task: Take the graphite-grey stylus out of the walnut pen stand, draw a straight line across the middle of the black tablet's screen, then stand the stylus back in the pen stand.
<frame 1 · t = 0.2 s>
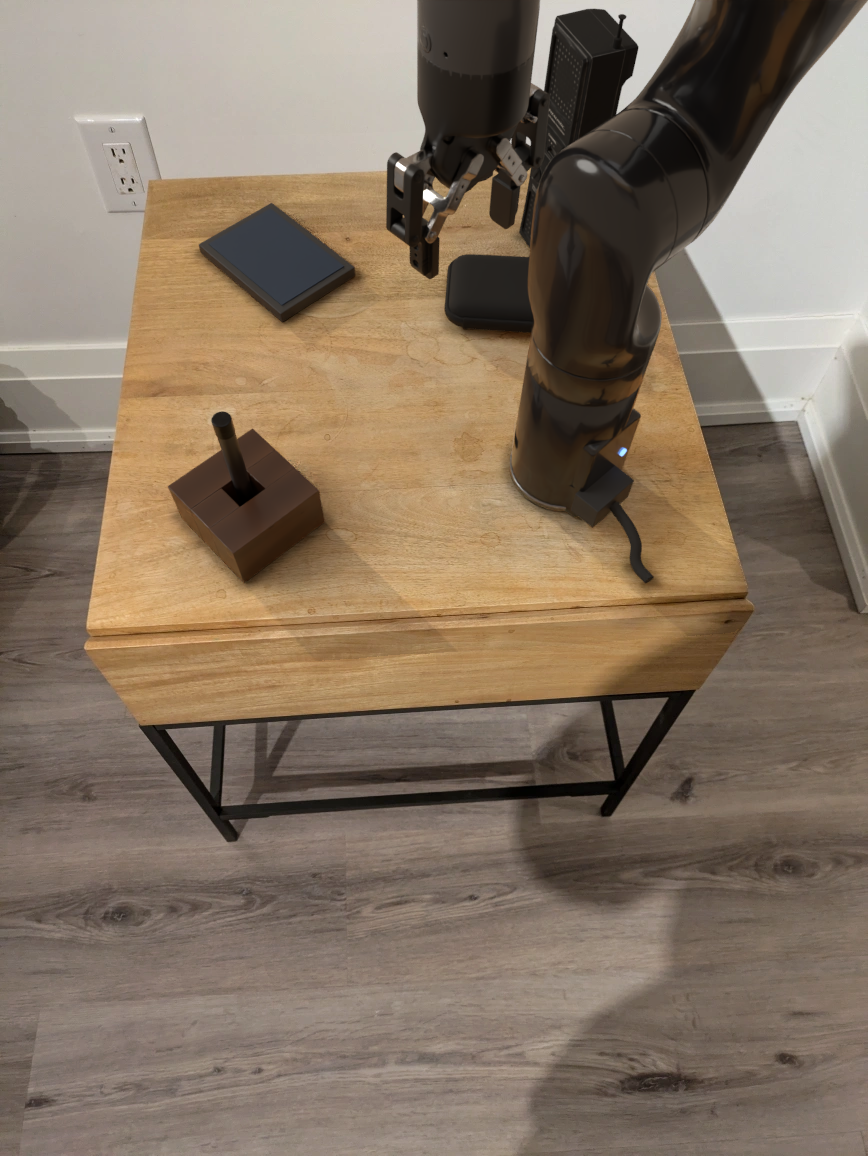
hand: (464, 246, 67), 17 cm above the table, tool pointing down, fingers open, 8 cm apart
carrying case: (515, 310, 88), on the table
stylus: (238, 474, 69), in the pen stand
pen stand: (253, 520, 75), on the table
tablet: (277, 264, 91), on the table
portable radio: (551, 246, 93), on the table
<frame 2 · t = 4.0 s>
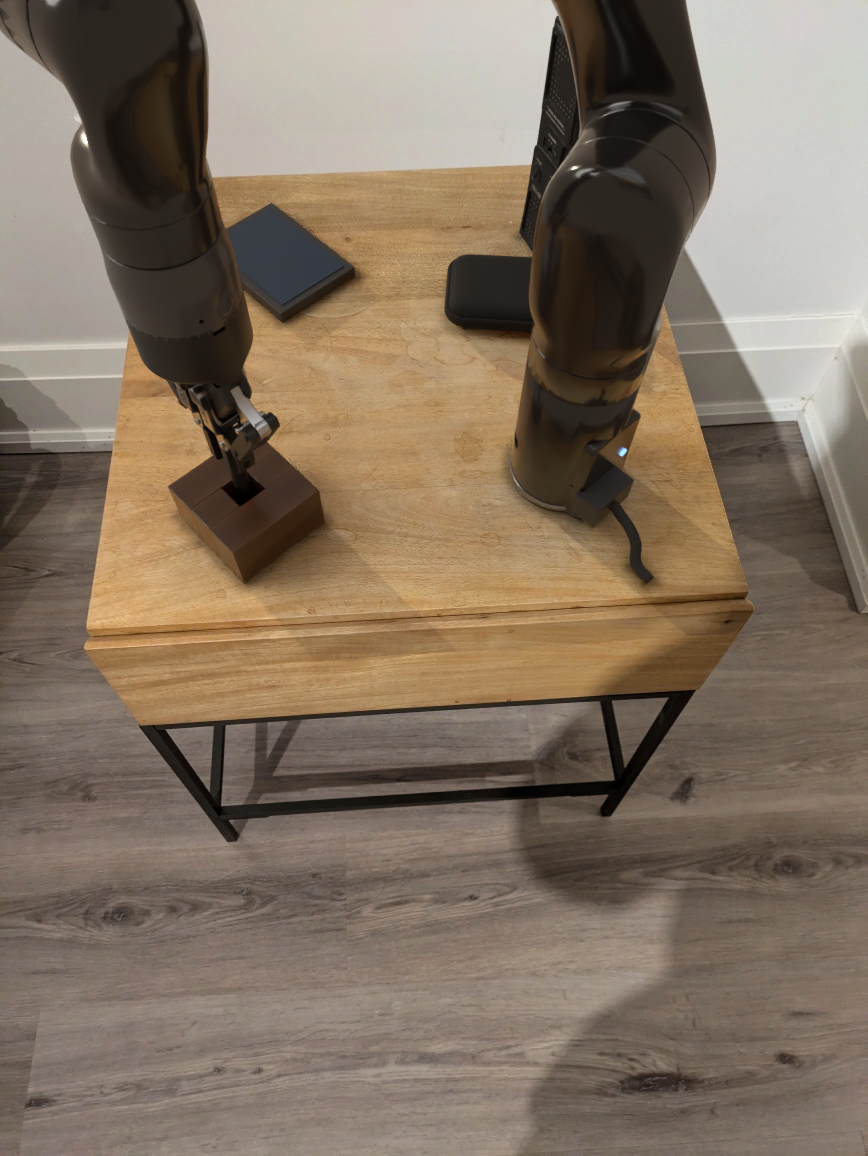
hand: (234, 459, 67), 9 cm above the table, tool pointing down, fingers closed on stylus, 1 cm apart
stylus: (238, 474, 69), in the pen stand, touching gripper
everything else where it was.
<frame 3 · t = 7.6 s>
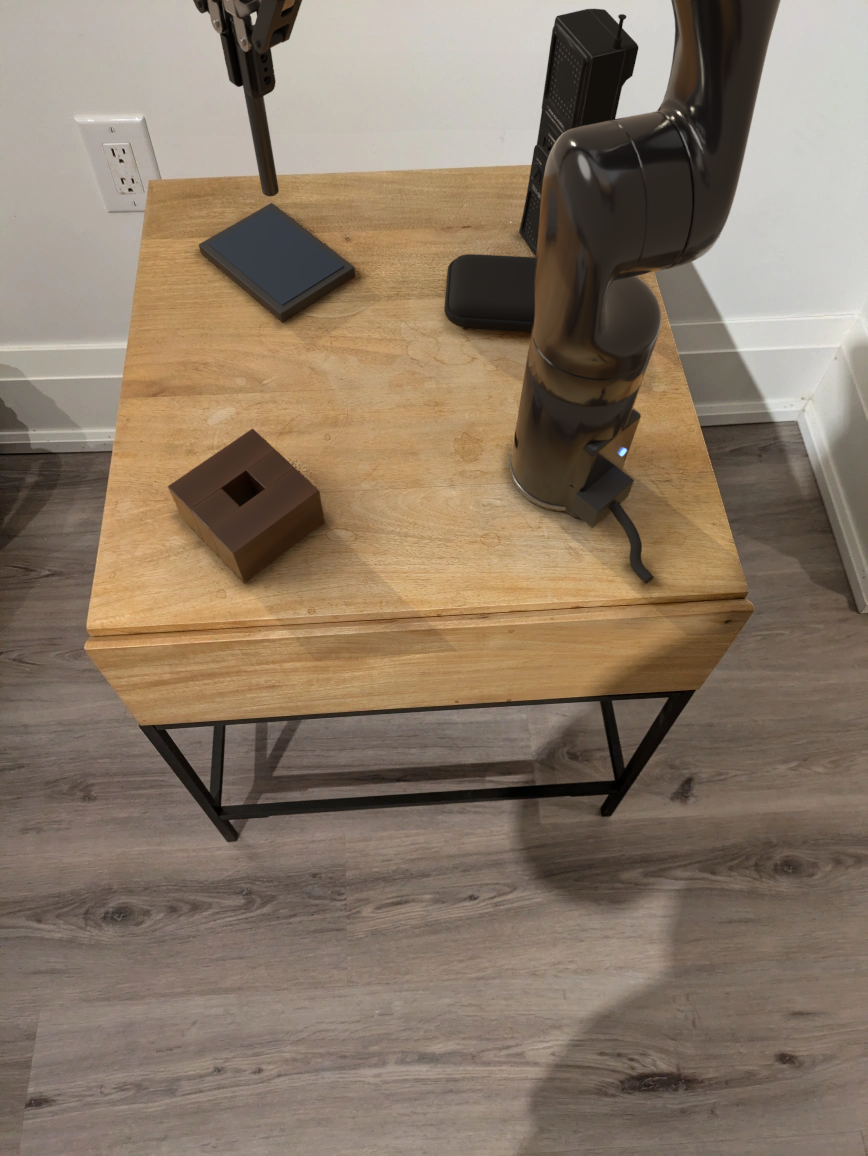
hand: (253, 86, 64), 25 cm above the table, tool pointing down, fingers closed on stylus, 1 cm apart
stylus: (257, 112, 66), point 23 cm above the table, touching gripper
everything else where it was.
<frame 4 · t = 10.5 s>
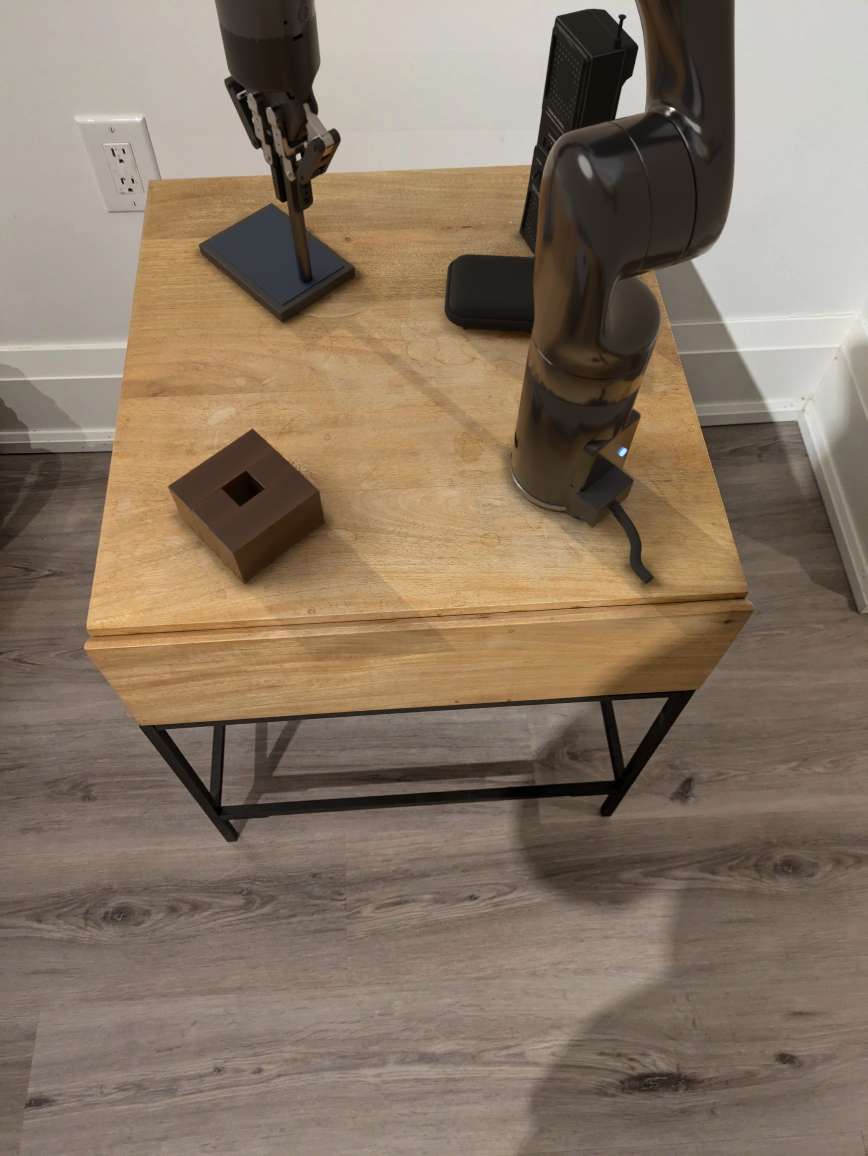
hand: (294, 202, 80), 10 cm above the table, tool pointing down, fingers closed on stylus, 1 cm apart
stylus: (297, 220, 82), point 8 cm above the table, touching gripper
everything else where it was.
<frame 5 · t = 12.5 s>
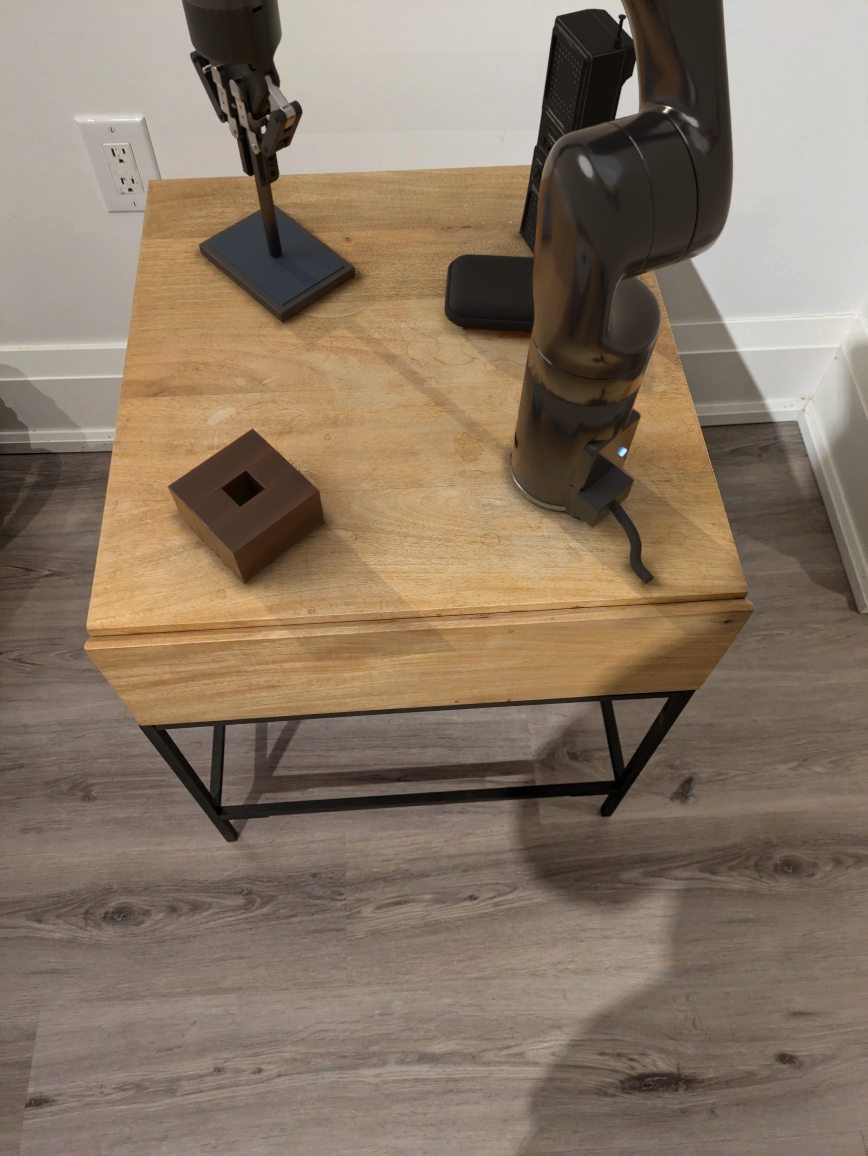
hand: (261, 176, 82), 11 cm above the table, tool pointing down, fingers closed on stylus, 1 cm apart
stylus: (265, 194, 83), point 8 cm above the table, touching gripper
everything else where it was.
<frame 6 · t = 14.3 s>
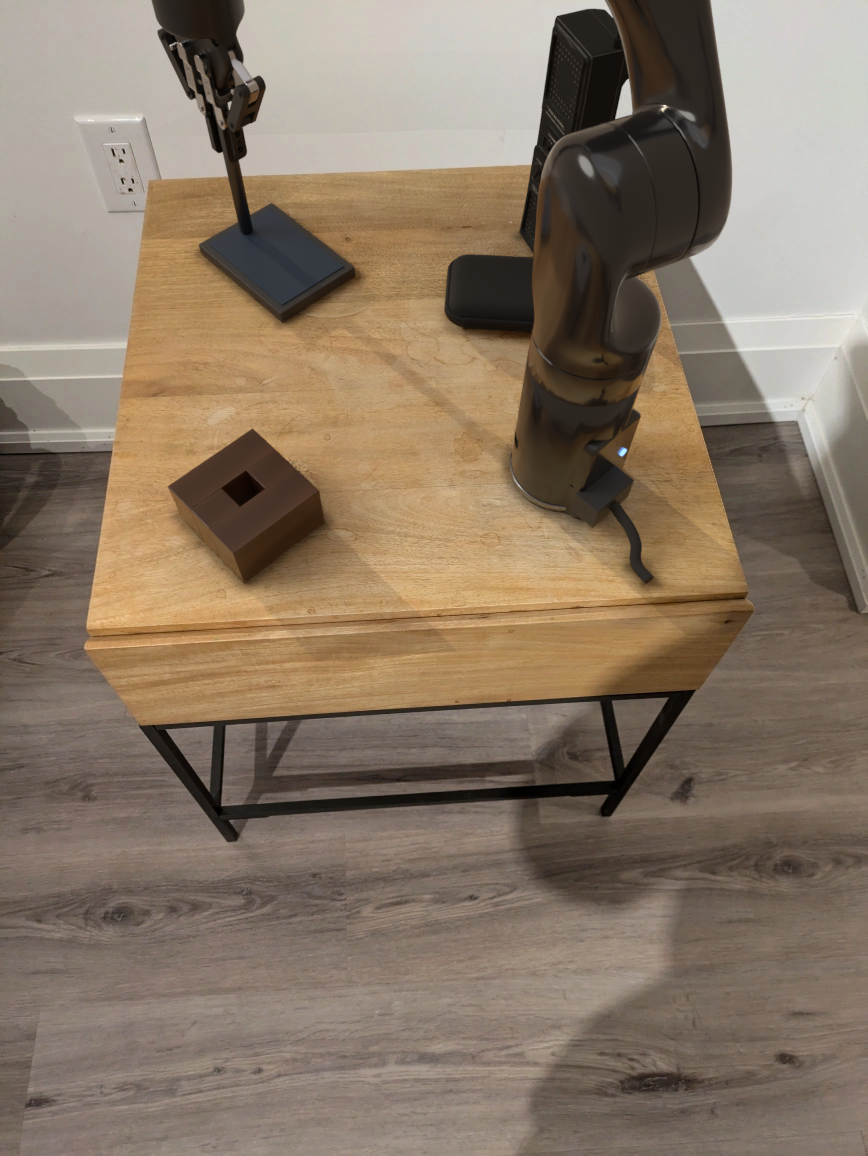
hand: (230, 152, 83), 10 cm above the table, tool pointing down, fingers closed on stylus, 1 cm apart
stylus: (234, 171, 85), point 8 cm above the table, touching gripper
everything else where it was.
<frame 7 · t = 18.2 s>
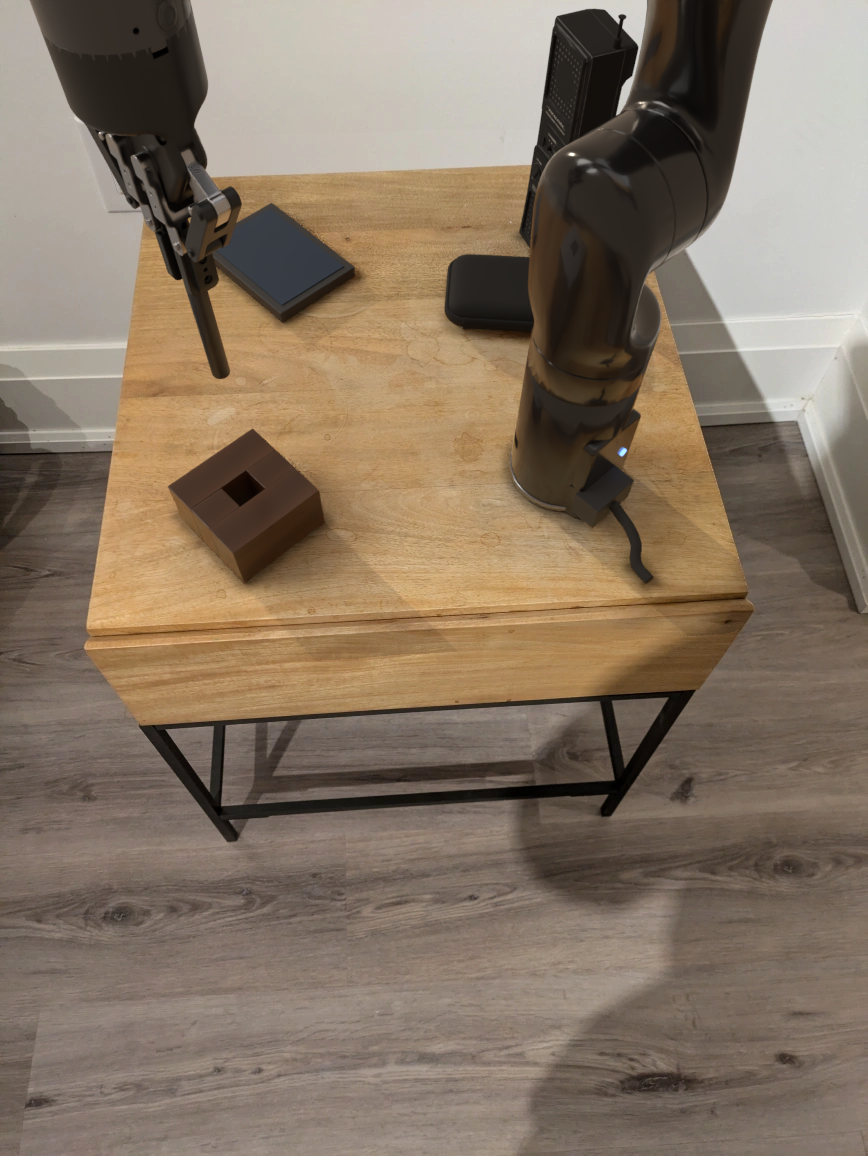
hand: (194, 279, 57), 23 cm above the table, tool pointing down, fingers closed on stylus, 1 cm apart
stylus: (200, 303, 59), point 21 cm above the table, touching gripper
everything else where it was.
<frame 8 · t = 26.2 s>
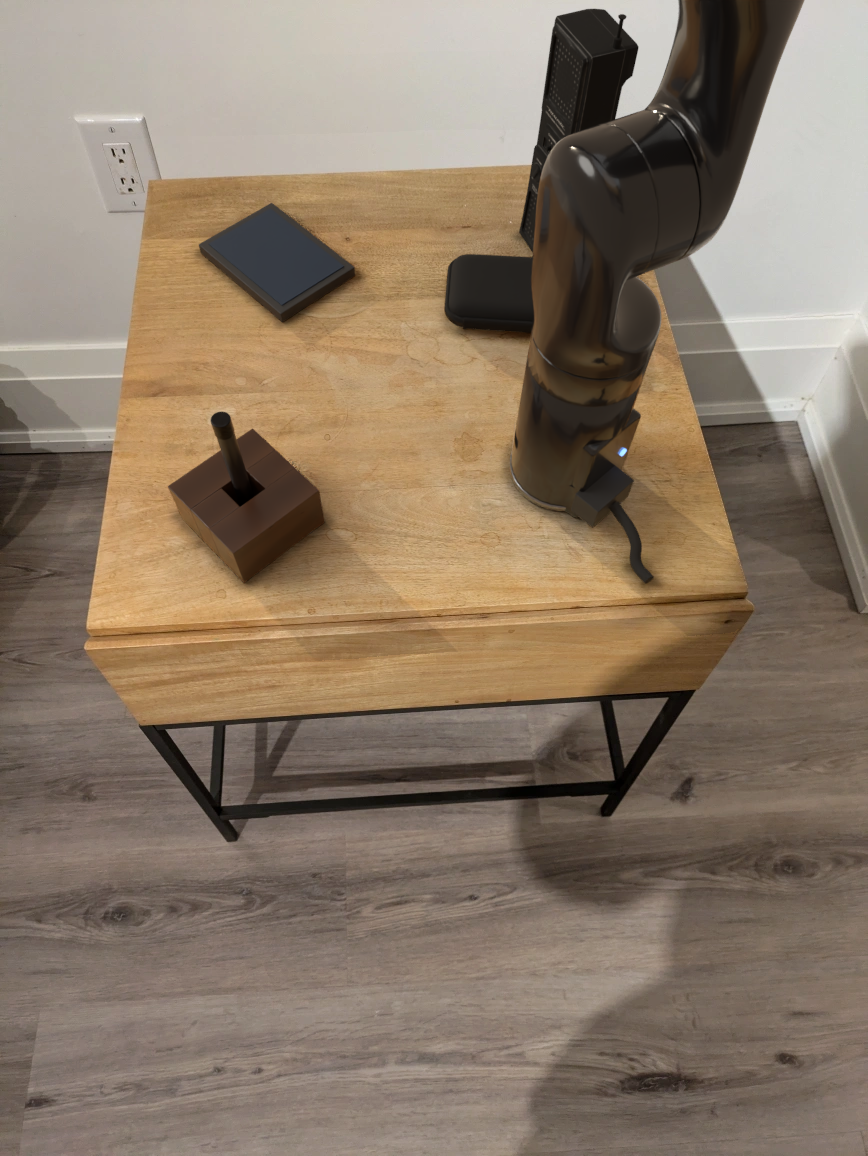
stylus: (238, 474, 69), in the pen stand
everything else where it was.
at the end: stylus 0.0 cm off-centre in the pen stand, point 7.0 cm above the pen stand's base; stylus tilted 0°; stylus touching table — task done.
